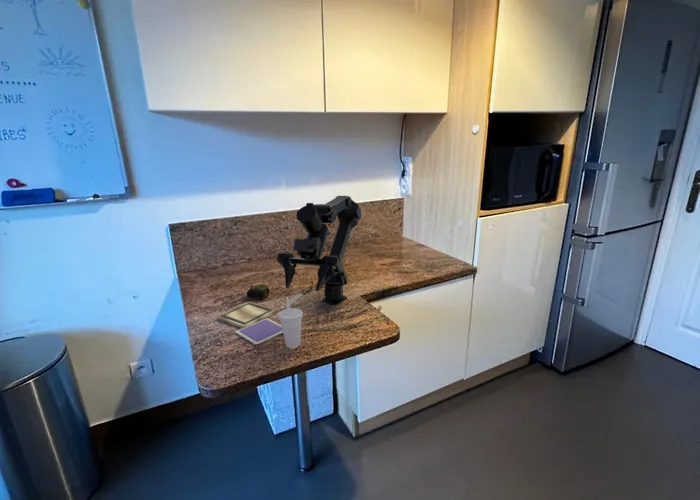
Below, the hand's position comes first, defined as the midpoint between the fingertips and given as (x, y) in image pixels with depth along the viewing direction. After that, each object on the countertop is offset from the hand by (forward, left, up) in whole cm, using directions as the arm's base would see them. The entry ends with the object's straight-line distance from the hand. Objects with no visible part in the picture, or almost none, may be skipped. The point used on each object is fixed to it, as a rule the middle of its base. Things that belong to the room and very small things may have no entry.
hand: (301, 289), depth 101 cm
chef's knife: (-18, -19, -14) cm, 30 cm away
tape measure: (-11, -31, -14) cm, 36 cm away
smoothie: (+7, +2, -14) cm, 15 cm away
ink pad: (+6, -11, -13) cm, 18 cm away
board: (+1, -23, -13) cm, 27 cm away
